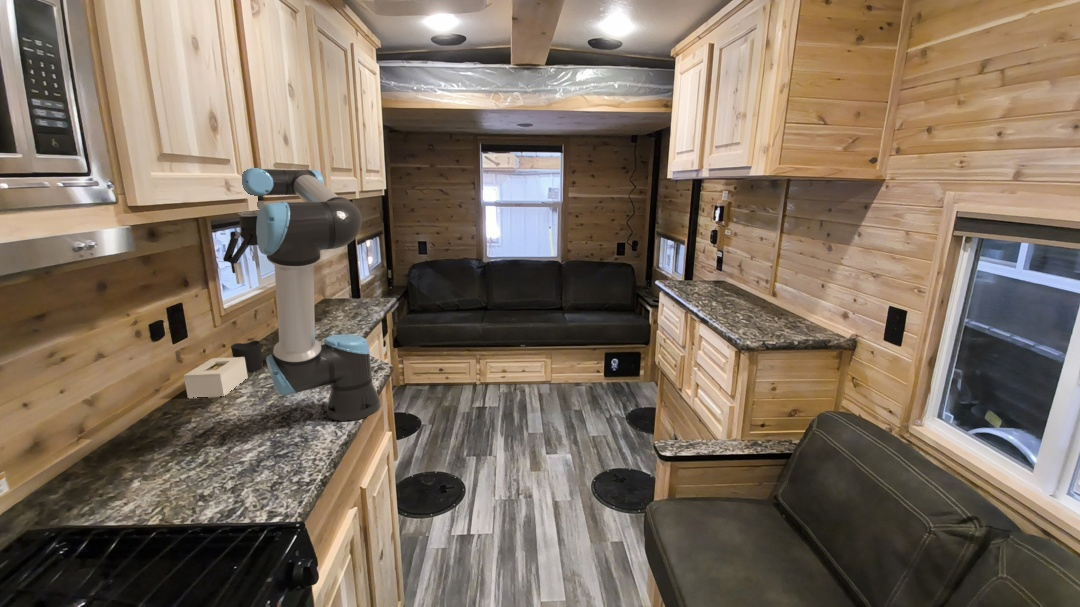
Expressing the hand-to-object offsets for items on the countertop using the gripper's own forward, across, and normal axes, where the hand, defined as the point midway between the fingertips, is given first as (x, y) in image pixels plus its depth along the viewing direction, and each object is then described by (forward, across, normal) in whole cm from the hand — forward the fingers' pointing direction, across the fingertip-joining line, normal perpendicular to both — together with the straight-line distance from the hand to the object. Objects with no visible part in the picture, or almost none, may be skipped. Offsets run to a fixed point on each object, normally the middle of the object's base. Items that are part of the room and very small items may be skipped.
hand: (262, 282), depth 152 cm
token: (+36, +21, -4) cm, 42 cm away
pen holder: (+37, +19, -21) cm, 47 cm away
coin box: (+37, +21, -4) cm, 42 cm away
